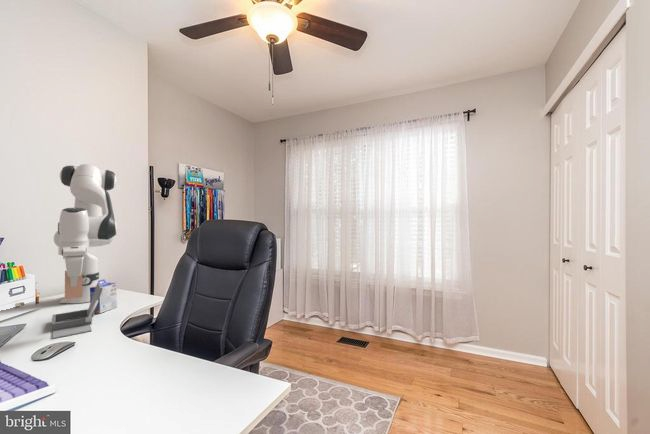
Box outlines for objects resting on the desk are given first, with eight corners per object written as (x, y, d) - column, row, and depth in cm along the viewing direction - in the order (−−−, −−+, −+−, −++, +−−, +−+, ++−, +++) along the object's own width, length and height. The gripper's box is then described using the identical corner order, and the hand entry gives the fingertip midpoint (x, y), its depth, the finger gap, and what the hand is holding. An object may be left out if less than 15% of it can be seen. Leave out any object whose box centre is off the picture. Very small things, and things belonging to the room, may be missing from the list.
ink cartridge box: (107, 306, 140) (107, 277, 140) (117, 307, 140) (118, 278, 140) (88, 313, 131) (89, 282, 131) (99, 314, 130) (100, 282, 130)
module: (64, 296, 110) (65, 269, 110) (81, 294, 113) (81, 267, 113) (64, 299, 106) (65, 271, 106) (82, 296, 110) (82, 269, 110)
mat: (53, 332, 109) (53, 331, 109) (90, 325, 116) (90, 324, 116) (52, 339, 103) (52, 337, 103) (91, 331, 111) (91, 330, 111)
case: (52, 321, 120) (53, 287, 120) (99, 313, 130) (99, 281, 130) (51, 333, 108) (52, 295, 108) (102, 323, 119) (103, 288, 119)
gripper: (63, 247, 115) (62, 281, 115) (62, 252, 100) (62, 291, 100) (83, 246, 120) (82, 279, 120) (86, 251, 105) (85, 288, 105)
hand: (73, 284), depth 110 cm, fingers closed on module, 5 cm apart
